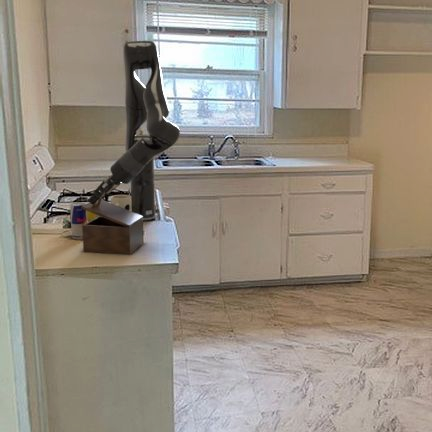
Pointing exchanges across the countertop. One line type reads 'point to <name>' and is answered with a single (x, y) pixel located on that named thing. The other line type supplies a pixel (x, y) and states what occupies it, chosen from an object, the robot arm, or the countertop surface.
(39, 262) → the countertop surface
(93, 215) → the lemon
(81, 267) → the countertop surface
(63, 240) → the countertop surface
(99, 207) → the lid
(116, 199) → the character mug
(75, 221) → the energy drink
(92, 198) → the robot arm
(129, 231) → the compartment
